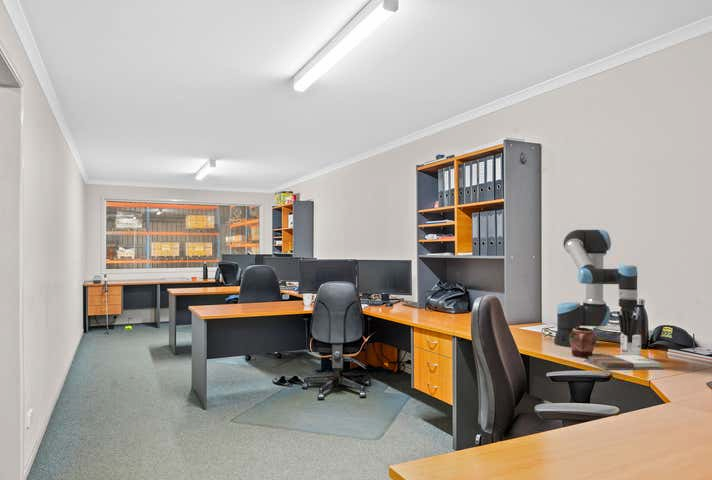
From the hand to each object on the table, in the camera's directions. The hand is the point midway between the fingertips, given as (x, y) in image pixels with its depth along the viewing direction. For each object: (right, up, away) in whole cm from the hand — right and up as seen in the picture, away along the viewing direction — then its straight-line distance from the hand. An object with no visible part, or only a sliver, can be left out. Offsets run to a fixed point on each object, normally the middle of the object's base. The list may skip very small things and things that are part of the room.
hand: (628, 349), depth 221 cm
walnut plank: (-9, -7, -1) cm, 11 cm away
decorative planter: (-13, -8, +17) cm, 23 cm away
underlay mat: (-3, -7, 0) cm, 8 cm away
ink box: (+9, -8, +13) cm, 18 cm away
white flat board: (+4, -6, 0) cm, 7 cm away
